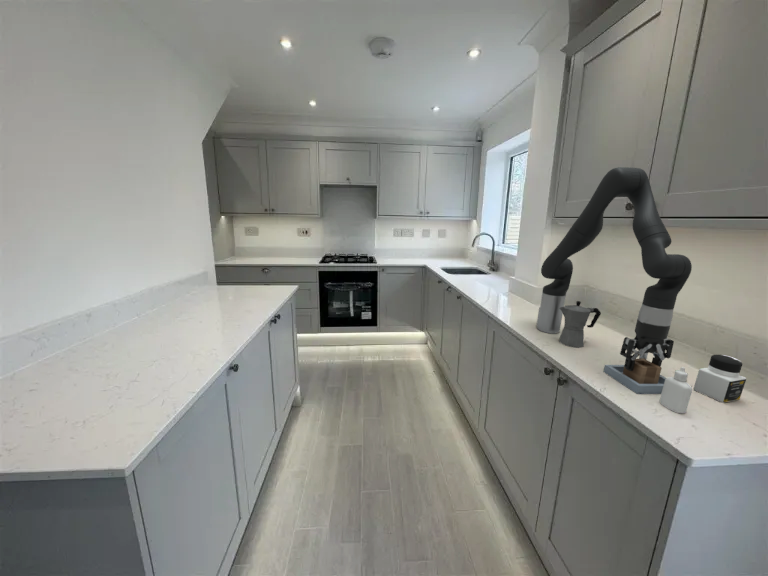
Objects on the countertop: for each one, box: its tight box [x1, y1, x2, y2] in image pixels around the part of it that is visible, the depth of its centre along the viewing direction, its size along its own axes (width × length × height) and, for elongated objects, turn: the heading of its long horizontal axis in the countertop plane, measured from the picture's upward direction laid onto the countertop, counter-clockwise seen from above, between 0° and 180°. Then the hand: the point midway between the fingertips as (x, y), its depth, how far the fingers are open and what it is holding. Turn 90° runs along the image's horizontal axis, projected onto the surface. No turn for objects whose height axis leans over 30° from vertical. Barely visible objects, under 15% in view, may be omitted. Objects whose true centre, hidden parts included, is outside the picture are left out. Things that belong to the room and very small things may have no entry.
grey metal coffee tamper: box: [638, 353, 649, 360], centre depth 105 cm, size 6×6×7 cm
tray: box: [603, 364, 667, 395], centre depth 95 cm, size 13×13×3 cm
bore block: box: [623, 358, 662, 384], centre depth 94 cm, size 6×6×6 cm
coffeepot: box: [558, 300, 602, 349], centre depth 122 cm, size 15×9×18 cm, turn 82°
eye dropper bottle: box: [659, 366, 693, 414], centre depth 81 cm, size 4×6×12 cm
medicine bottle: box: [692, 354, 747, 404], centre depth 88 cm, size 7×7×12 cm
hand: (641, 369), depth 94 cm, fingers open, 8 cm apart
